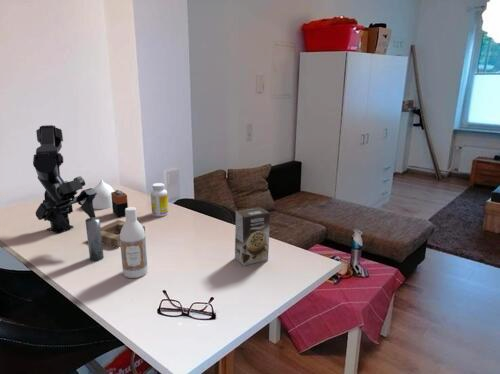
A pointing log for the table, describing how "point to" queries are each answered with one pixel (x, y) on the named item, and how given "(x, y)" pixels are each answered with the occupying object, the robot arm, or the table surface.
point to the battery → (119, 203)
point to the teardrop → (103, 196)
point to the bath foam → (133, 246)
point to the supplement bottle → (159, 200)
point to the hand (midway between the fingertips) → (83, 224)
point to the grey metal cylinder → (94, 239)
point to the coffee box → (252, 235)
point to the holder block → (112, 233)
